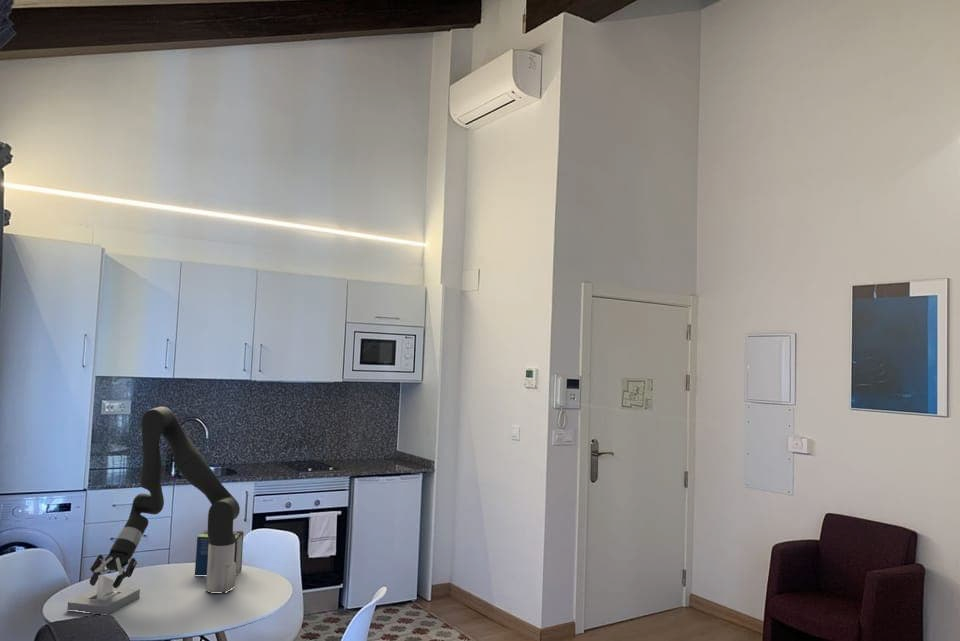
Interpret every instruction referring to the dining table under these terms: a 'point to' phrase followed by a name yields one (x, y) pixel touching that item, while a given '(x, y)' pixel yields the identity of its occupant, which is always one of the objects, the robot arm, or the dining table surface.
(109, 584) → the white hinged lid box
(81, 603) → the socket plate
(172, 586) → the dining table surface
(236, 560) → the protein box
